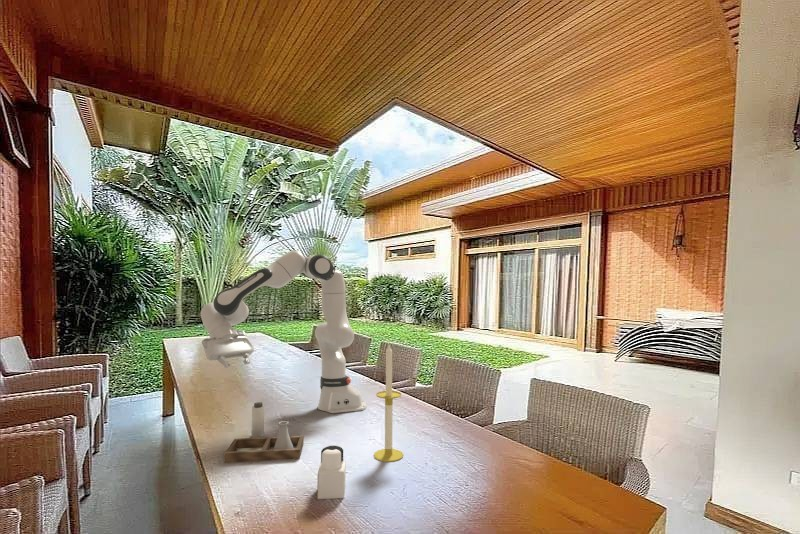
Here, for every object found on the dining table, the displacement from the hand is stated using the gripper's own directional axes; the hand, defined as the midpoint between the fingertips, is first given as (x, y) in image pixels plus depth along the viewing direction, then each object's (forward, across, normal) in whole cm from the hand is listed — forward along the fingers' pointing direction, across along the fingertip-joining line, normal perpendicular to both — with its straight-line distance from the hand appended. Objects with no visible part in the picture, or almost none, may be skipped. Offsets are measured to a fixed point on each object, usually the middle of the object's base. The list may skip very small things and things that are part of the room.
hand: (237, 365), depth 161 cm
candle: (+62, +10, -29) cm, 69 cm away
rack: (+37, -8, -2) cm, 38 cm away
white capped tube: (+27, +1, +8) cm, 28 cm away
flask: (+40, -5, -5) cm, 41 cm away
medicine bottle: (+62, -18, -27) cm, 70 cm away
